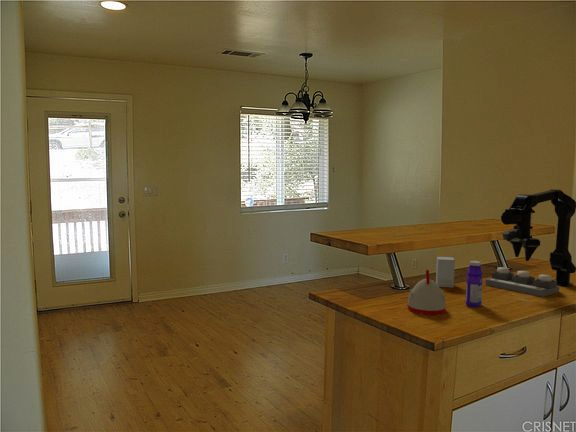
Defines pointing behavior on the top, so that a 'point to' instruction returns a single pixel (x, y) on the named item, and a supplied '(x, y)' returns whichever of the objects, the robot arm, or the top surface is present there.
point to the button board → (523, 284)
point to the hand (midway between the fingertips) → (521, 258)
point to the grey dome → (427, 298)
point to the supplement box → (445, 271)
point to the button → (503, 270)
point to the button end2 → (545, 278)
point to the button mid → (523, 274)
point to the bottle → (474, 285)
